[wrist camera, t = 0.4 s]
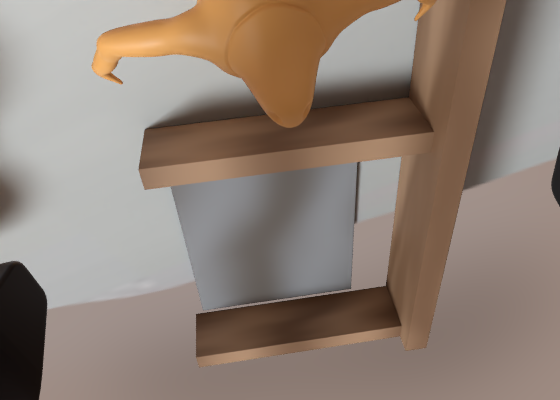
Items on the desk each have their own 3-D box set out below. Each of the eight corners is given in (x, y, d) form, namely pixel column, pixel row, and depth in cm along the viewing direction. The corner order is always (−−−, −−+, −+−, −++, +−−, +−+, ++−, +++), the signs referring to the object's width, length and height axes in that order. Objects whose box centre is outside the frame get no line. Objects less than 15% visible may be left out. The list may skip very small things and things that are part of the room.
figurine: (158, 70, 19) (126, 309, 10) (98, -102, 16) (-43, 33, 6) (361, 26, 19) (510, 227, 10) (350, -157, 16) (576, -102, 6)
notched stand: (501, -327, 14) (590, -366, 10) (403, 293, 31) (425, 347, 28) (26, -297, 13) (-28, -329, 10) (198, 324, 30) (199, 383, 27)
